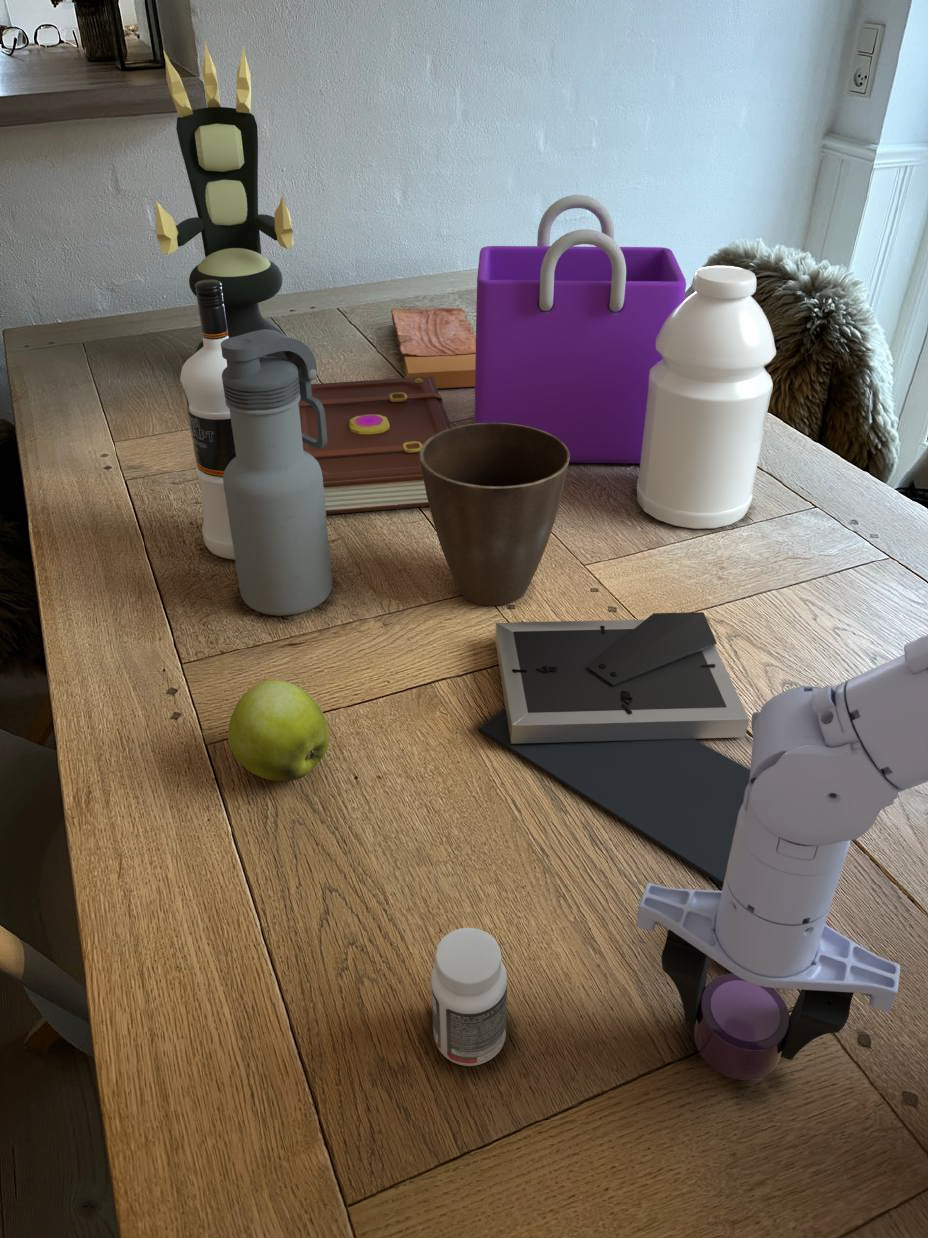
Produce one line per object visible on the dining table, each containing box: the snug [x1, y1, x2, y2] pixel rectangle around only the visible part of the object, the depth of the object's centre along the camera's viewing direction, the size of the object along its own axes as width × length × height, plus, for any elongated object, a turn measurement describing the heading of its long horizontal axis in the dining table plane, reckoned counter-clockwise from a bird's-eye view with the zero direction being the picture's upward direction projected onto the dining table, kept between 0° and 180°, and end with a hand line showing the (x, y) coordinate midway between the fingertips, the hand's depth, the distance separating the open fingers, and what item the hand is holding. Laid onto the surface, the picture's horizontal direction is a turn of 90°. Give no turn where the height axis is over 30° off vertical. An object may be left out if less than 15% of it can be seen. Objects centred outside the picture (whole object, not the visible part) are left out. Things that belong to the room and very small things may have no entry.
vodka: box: [179, 280, 236, 561], centre depth 108 cm, size 9×9×30 cm
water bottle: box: [221, 329, 333, 617], centre depth 100 cm, size 10×10×28 cm
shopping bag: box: [473, 194, 687, 464], centre depth 131 cm, size 28×22×30 cm
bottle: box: [636, 265, 777, 529], centre depth 116 cm, size 14×14×28 cm
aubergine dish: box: [693, 972, 790, 1081], centre depth 63 cm, size 5×5×3 cm
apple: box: [227, 679, 331, 782], centre depth 84 cm, size 8×9×8 cm
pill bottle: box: [430, 927, 508, 1067], centre depth 63 cm, size 5×5×8 cm
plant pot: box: [420, 423, 570, 607], centre depth 104 cm, size 15×15×16 cm
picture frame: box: [494, 611, 750, 744], centre depth 93 cm, size 16×3×21 cm
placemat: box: [478, 708, 750, 887], centre depth 85 cm, size 28×12×1 cm, turn 46°
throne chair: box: [155, 40, 294, 360], centre depth 149 cm, size 19×22×45 cm
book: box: [298, 376, 452, 515], centre depth 134 cm, size 23×32×5 cm
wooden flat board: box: [390, 307, 476, 389], centre depth 165 cm, size 13×30×3 cm, turn 8°
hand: (741, 1027), depth 63 cm, fingers closed on aubergine dish, 5 cm apart
